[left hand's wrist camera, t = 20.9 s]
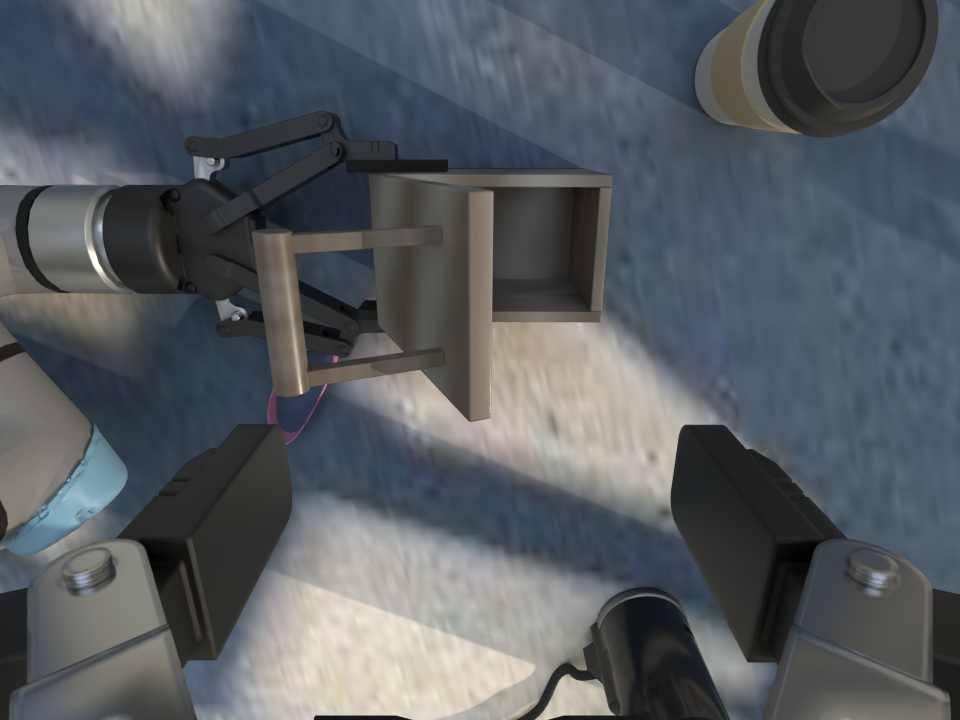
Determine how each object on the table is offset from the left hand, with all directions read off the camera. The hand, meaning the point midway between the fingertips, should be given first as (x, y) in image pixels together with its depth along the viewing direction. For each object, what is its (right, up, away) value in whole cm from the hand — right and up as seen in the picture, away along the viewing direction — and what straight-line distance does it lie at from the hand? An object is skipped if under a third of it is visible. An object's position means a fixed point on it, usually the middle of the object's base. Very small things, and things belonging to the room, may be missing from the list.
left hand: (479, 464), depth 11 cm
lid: (-3, +6, +17) cm, 19 cm away
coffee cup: (+19, +23, +30) cm, 43 cm away
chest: (+1, +13, +34) cm, 37 cm away
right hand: (-2, +11, +28) cm, 30 cm away
